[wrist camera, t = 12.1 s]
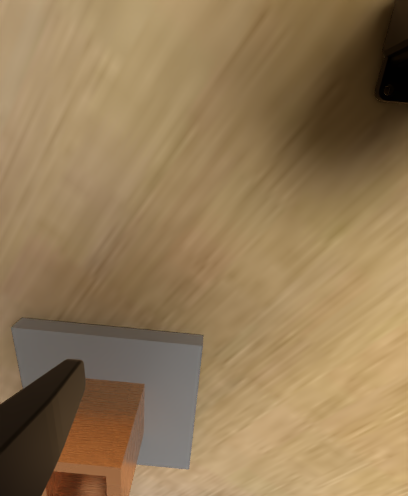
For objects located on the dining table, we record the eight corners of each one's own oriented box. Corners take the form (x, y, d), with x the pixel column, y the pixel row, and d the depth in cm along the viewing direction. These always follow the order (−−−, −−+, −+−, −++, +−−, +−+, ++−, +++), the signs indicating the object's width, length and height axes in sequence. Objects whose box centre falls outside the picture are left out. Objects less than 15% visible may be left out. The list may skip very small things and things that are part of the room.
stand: (203, 335, 21) (200, 392, 17) (190, 455, 26) (184, 526, 22) (21, 317, 21) (-35, 369, 17) (43, 441, 26) (4, 508, 22)
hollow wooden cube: (144, 383, 22) (120, 467, 16) (143, 433, 24) (122, 522, 18) (73, 376, 22) (24, 458, 16) (78, 426, 24) (36, 514, 18)
